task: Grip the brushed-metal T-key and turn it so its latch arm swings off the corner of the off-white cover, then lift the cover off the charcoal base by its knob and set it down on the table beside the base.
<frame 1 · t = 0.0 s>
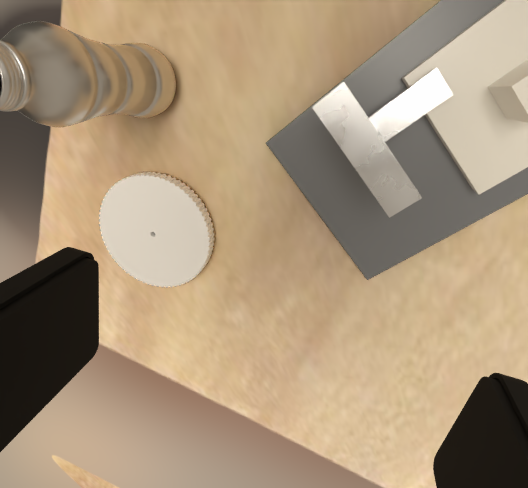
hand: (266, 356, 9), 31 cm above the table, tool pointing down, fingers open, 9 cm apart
t key: (399, 118, 28), point 7 cm above the table, hinge at 0.0°
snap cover: (506, 89, 30), point 1 cm above the table, touching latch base
plastic lid: (163, 226, 45), on the table
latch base: (434, 133, 34), on the table
plastic bottle: (155, 82, 38), on the table
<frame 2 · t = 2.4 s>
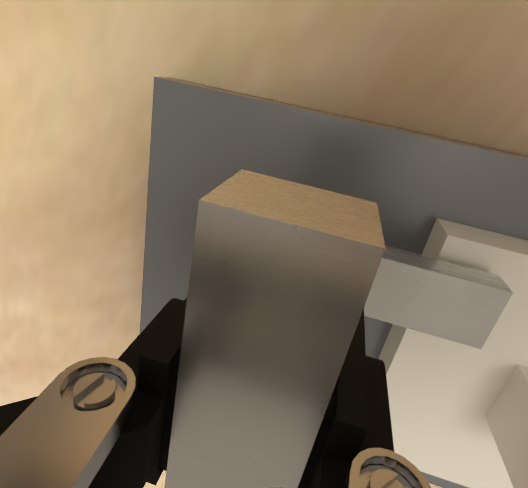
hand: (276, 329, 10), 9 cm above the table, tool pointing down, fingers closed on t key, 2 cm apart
t key: (379, 322, 11), point 7 cm above the table, hinge at 0.0°, touching gripper
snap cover: (518, 369, 17), point 1 cm above the table, touching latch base
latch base: (387, 314, 19), on the table
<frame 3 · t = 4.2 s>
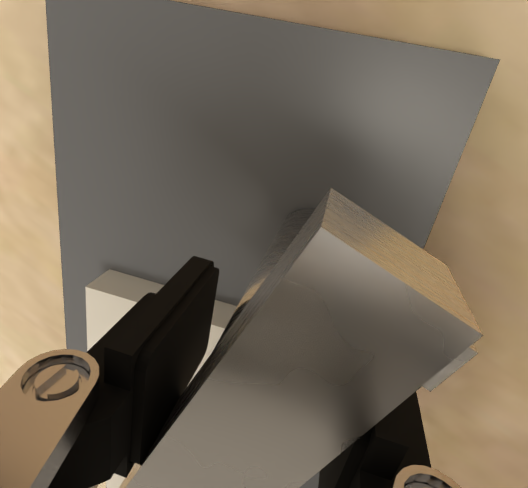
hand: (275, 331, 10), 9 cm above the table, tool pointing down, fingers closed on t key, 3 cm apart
t key: (362, 348, 12), point 7 cm above the table, hinge at 69.3°, touching gripper
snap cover: (200, 382, 22), point 1 cm above the table, touching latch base
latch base: (221, 285, 21), on the table
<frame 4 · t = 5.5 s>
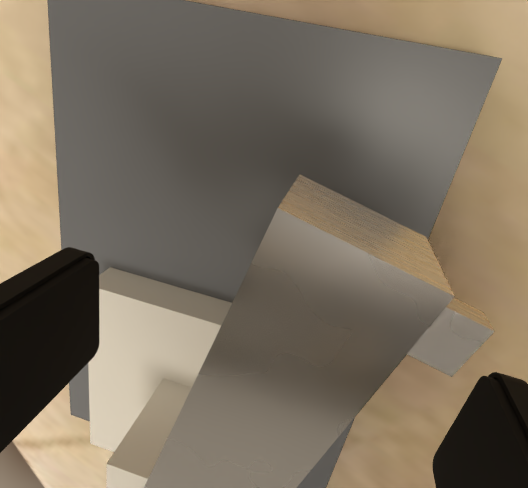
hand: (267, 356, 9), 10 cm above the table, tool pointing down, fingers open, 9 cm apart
t key: (371, 338, 11), point 7 cm above the table, hinge at 77.0°
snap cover: (200, 380, 22), point 1 cm above the table, touching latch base
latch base: (222, 283, 21), on the table
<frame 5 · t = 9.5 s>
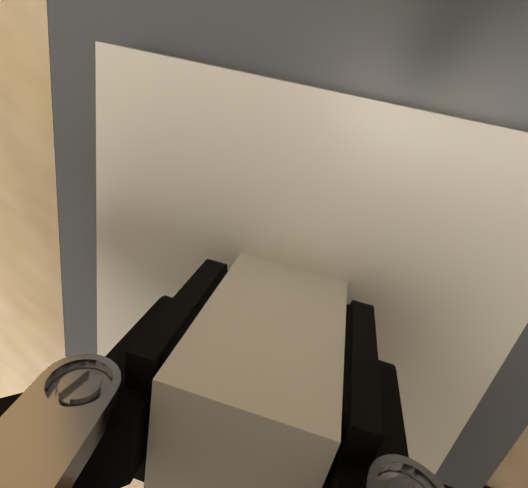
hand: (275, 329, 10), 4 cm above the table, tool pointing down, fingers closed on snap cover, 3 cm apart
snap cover: (292, 279, 13), point 2 cm above the table, touching gripper, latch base
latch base: (342, 91, 11), on the table
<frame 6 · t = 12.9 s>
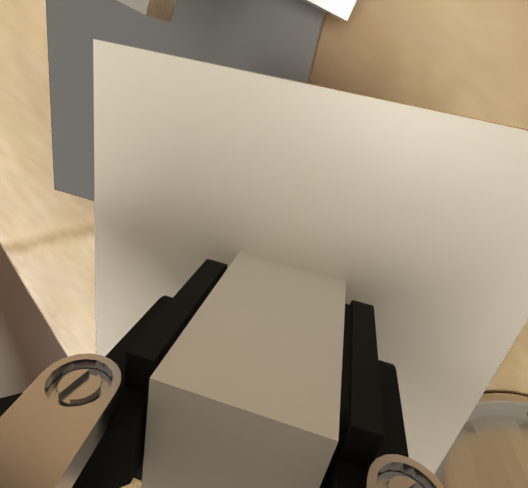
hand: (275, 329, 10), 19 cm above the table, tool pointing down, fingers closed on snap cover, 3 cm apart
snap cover: (291, 278, 12), point 16 cm above the table, touching gripper
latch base: (182, 37, 25), on the table
when the fingers open (4 cm above the table, at t = 16.5 s): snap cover drops 3 cm, on the table.
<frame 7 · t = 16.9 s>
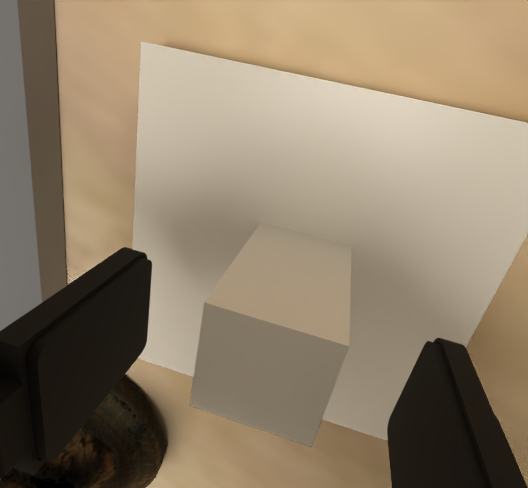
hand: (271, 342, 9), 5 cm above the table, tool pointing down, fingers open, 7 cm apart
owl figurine: (46, 411, 22), on the table
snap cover: (302, 250, 14), on the table
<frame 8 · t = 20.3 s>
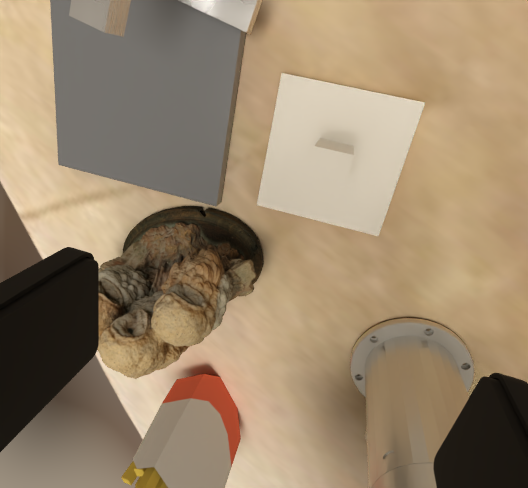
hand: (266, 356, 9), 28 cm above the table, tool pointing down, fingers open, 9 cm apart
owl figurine: (197, 254, 42), on the table
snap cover: (333, 155, 35), on the table
french fries container: (215, 394, 50), on the table
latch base: (149, 47, 34), on the table
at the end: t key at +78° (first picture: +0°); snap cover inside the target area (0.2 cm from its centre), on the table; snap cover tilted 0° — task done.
